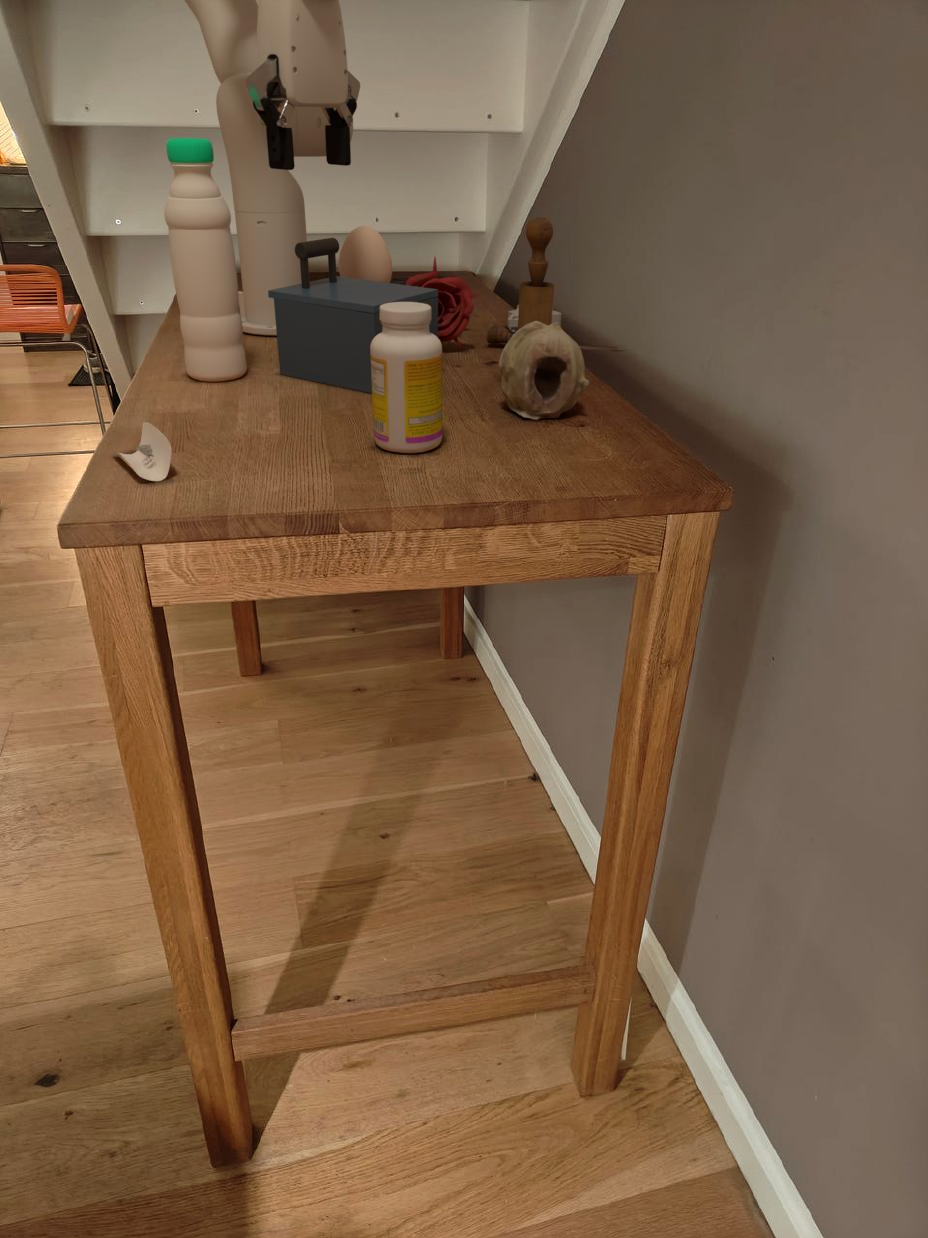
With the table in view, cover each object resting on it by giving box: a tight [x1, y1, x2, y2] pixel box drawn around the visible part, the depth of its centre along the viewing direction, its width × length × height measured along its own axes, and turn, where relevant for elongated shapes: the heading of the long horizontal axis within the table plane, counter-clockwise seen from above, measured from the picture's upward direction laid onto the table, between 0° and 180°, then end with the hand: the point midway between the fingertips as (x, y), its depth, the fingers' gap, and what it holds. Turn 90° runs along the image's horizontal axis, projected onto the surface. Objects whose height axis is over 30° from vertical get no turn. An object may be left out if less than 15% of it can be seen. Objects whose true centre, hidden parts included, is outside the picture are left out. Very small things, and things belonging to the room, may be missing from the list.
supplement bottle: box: [370, 302, 443, 454], centre depth 82 cm, size 7×7×13 cm
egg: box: [338, 225, 393, 283], centre depth 143 cm, size 9×9×12 cm
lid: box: [268, 237, 438, 313], centre depth 102 cm, size 15×13×6 cm
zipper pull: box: [506, 304, 562, 333], centre depth 125 cm, size 8×18×4 cm, turn 168°
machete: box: [486, 322, 628, 353], centre depth 120 cm, size 21×3×5 cm
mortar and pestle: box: [518, 217, 555, 330], centre depth 101 cm, size 7×6×18 cm
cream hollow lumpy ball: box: [498, 321, 590, 421], centre depth 93 cm, size 9×8×10 cm
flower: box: [406, 256, 482, 350], centre depth 126 cm, size 13×12×30 cm
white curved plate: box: [109, 421, 173, 482], centre depth 78 cm, size 4×8×3 cm
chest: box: [274, 297, 438, 394], centre depth 106 cm, size 15×13×9 cm
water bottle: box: [163, 137, 248, 383], centre depth 99 cm, size 7×7×25 cm
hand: (311, 166), depth 99 cm, fingers open, 9 cm apart
